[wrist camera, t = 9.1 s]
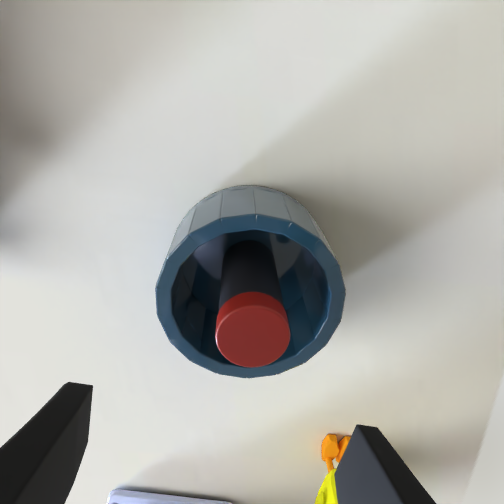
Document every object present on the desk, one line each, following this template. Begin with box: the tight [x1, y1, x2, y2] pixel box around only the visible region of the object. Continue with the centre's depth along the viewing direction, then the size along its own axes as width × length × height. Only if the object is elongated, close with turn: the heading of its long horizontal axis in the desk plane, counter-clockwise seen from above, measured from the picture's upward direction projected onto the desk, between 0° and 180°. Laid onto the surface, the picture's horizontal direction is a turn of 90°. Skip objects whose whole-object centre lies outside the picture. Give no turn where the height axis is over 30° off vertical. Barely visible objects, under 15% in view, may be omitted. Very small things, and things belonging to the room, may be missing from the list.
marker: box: [215, 241, 290, 367], centre depth 16 cm, size 2×2×6 cm
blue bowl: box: [155, 186, 346, 378], centre depth 17 cm, size 7×7×4 cm
